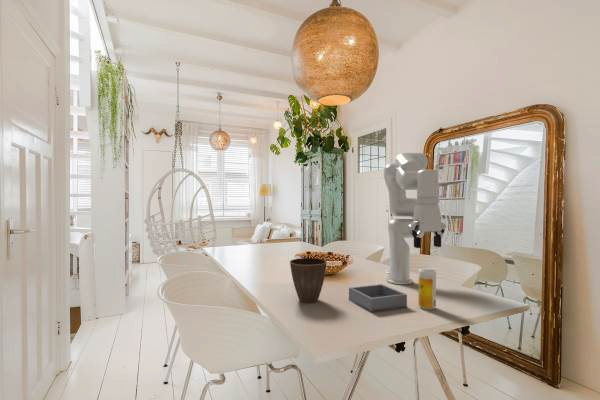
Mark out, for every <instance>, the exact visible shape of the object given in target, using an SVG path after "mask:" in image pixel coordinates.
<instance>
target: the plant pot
mask: <svg viewBox="0 0 600 400" xmlns="http://www.w3.org/2000/svg"><path fill="white" fill-rule="evenodd" d="M327 263H328V262H327V260H326V259H324V258H314V257H300V258H294V259H291V260H290V261H289V265H290V272H291V278H292V281H293V285H294V288H295V293H296V295H297V297H298V300H299V302H300V303H303V304H314V303H317V302H318V300H319V299H320V295H321V292H322V289H323V285H324V281H325V275H326V270H327Z"/></svg>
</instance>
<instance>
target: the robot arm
mask: <svg viewBox="0 0 600 400" xmlns="http://www.w3.org/2000/svg"><path fill="white" fill-rule="evenodd" d="M428 161H429V159H428V157H427V156H426V155H425V153H422V152H402V153H400V154H397V156H396V157H395V160H394V163H389V164H387V165H385V167H384V169H383V177H384V178H383V179H384V182H385V186H386V188H387V190H388V200H389V203H388V204H389V211H390V215H391V216H393V217H398V218H394V219H391V220H389V222H388V225H387V229H388V230H387V231H388V236H389V238H388V239H389V271H386V275H388V276H387V277H386V282H388V283H391V284H394V285H405V286H406V285H411V284H413V281H414V280H413V279H412V278H410V273H411V272H410V268H411V266H410V253H411V252H410V245H409V244H408V242H407V241H406V240H405V239H413V248H415V249H422V238H423V237H424V235H425V233H432V234H433V246H434V247H437V248H441V247H442V237H443V234H444V233H445V230H446V228H447V224H445V223H444V222H442V218H441V217H442V216H441V208H440V206H439V203H440V199H439V171H437V170H436V169H430V168H429V169H428V168H427V167H428V164H429V163H428ZM412 190H415V191H416V198H414V197H413V198H412V197H409V198H408V197H407V191H412ZM399 217H404V218H399Z"/></svg>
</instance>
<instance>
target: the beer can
mask: <svg viewBox="0 0 600 400" xmlns="http://www.w3.org/2000/svg"><path fill="white" fill-rule="evenodd" d="M436 290H437V271H436V269H435V268H433V267H428V266H422V267H419V270H418V306H419V308H420V309H421V308H422V310H425V311H434V310H435V309H436V306H437V302H436V301H437V296H436V295H437V291H436Z"/></svg>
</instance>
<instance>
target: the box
mask: <svg viewBox="0 0 600 400" xmlns="http://www.w3.org/2000/svg"><path fill="white" fill-rule="evenodd" d="M348 300H349V301H350V302H351V303H354V304H355V305H357V306H359V307H360V308H363V309H364V310H366V311H367V312H369V313H372V314H373V313H378V312H379V313H380V312H385V311H393V310H399V309H407V307H408V294H407V293H404V292H402V291H399V290H397V289H395V288H392V287H390V286H388V285H385V284H382V283H379V284H372V285H371V284H370V285H362V286H352V287H348Z"/></svg>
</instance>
